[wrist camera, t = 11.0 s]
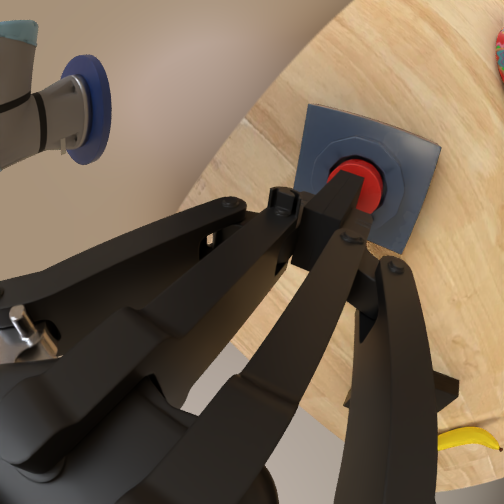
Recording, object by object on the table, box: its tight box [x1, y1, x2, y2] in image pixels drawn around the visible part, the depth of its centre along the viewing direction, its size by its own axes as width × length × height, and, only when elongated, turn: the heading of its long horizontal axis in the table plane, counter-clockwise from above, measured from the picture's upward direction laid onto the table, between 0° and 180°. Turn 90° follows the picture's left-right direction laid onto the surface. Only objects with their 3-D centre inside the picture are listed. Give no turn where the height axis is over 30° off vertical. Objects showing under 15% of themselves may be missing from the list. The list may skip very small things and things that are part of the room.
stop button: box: [327, 159, 383, 214], centre depth 17 cm, size 4×4×2 cm
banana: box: [438, 427, 503, 452], centre depth 24 cm, size 3×19×6 cm, turn 136°
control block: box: [293, 104, 441, 254], centre depth 18 cm, size 10×9×4 cm
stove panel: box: [343, 371, 459, 413], centre depth 27 cm, size 12×11×3 cm
